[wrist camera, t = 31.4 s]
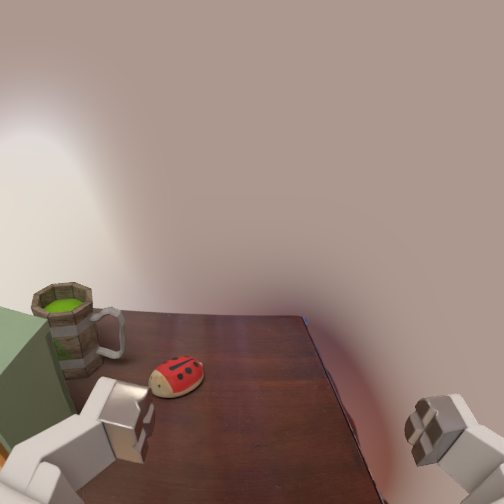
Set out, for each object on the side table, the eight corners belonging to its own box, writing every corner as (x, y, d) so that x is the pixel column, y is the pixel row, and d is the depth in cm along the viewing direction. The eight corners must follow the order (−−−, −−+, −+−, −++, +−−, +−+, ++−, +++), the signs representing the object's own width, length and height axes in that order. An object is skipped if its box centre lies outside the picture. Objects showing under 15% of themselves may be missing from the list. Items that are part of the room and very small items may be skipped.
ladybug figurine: (139, 383, 44) (137, 367, 43) (186, 358, 52) (186, 342, 51) (166, 409, 41) (165, 393, 39) (214, 379, 48) (215, 363, 47)
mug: (37, 373, 41) (18, 311, 36) (59, 336, 51) (47, 278, 46) (124, 389, 43) (113, 326, 38) (136, 347, 53) (131, 287, 48)
